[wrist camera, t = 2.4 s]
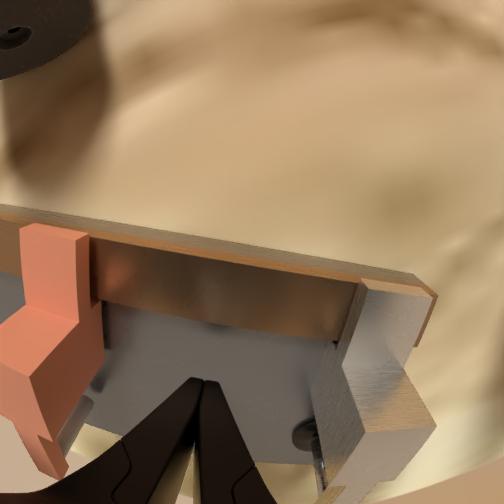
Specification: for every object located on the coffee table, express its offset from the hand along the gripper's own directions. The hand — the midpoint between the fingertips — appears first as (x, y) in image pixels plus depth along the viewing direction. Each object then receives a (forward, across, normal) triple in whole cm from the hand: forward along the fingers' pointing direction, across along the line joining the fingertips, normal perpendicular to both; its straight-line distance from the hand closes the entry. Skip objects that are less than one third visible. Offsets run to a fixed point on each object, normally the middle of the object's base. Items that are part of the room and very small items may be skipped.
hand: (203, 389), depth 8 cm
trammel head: (+2, +5, 0) cm, 5 cm away
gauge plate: (+3, +5, +1) cm, 6 cm away
